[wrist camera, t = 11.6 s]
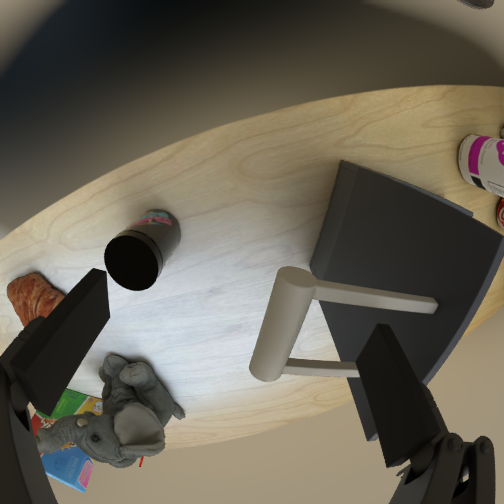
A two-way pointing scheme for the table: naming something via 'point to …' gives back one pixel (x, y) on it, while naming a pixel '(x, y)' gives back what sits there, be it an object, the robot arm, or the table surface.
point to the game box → (70, 455)
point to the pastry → (33, 297)
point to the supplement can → (483, 162)
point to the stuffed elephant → (117, 418)
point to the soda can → (501, 214)
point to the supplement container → (142, 250)
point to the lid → (384, 286)
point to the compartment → (338, 211)
